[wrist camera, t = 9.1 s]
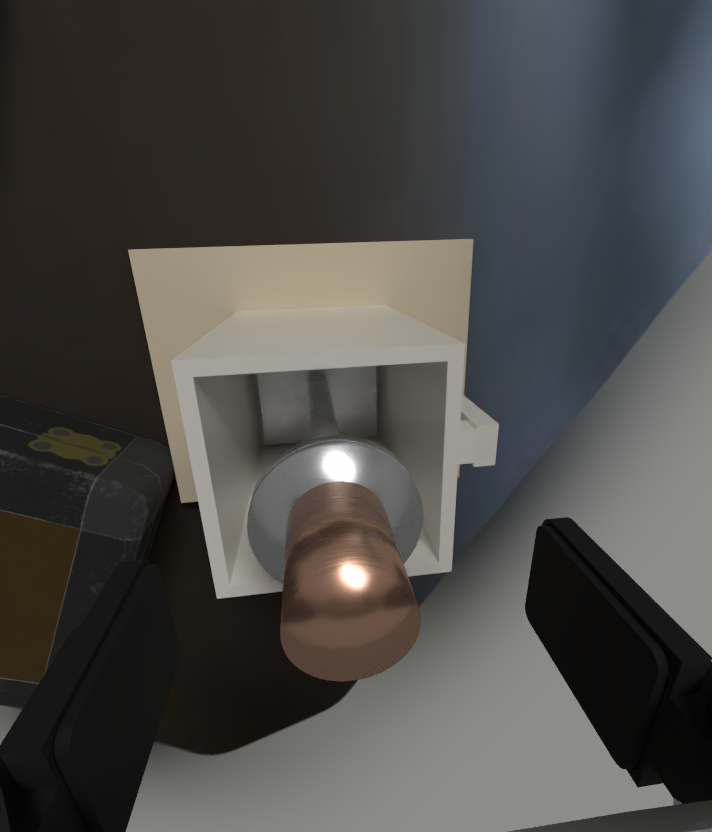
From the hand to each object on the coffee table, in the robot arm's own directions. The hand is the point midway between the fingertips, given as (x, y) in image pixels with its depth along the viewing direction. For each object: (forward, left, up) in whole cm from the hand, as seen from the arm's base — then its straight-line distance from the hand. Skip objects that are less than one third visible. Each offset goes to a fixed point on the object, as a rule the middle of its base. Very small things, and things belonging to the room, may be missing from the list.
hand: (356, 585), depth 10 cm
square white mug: (0, 0, -22) cm, 22 cm away
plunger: (0, 0, -20) cm, 20 cm away
